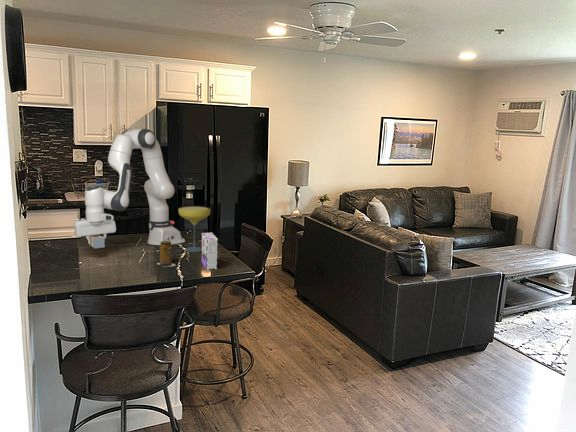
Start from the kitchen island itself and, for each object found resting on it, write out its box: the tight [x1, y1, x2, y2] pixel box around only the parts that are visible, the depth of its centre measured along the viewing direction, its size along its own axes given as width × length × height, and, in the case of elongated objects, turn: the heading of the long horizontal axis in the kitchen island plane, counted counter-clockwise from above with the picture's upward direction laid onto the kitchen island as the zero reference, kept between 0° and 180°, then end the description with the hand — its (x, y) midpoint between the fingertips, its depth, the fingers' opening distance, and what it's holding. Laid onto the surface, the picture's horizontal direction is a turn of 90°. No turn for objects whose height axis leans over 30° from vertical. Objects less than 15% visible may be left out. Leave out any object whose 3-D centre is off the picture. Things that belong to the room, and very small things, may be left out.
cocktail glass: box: [178, 204, 211, 253], centre depth 266 cm, size 18×18×25 cm
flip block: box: [88, 234, 106, 249], centre depth 241 cm, size 5×5×11 cm
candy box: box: [201, 232, 219, 271], centre depth 236 cm, size 14×6×16 cm, turn 21°
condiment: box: [156, 241, 177, 268], centre depth 236 cm, size 7×8×12 cm
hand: (96, 242), depth 241 cm, fingers closed on flip block, 5 cm apart
